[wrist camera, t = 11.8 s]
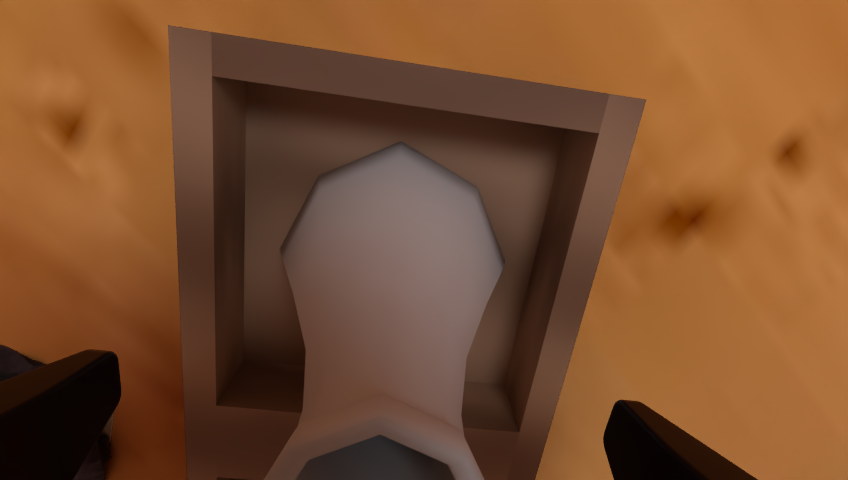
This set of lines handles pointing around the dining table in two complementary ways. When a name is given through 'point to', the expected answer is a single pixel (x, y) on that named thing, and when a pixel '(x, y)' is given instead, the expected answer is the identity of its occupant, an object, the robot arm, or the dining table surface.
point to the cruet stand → (341, 144)
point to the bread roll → (91, 475)
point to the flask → (387, 318)
